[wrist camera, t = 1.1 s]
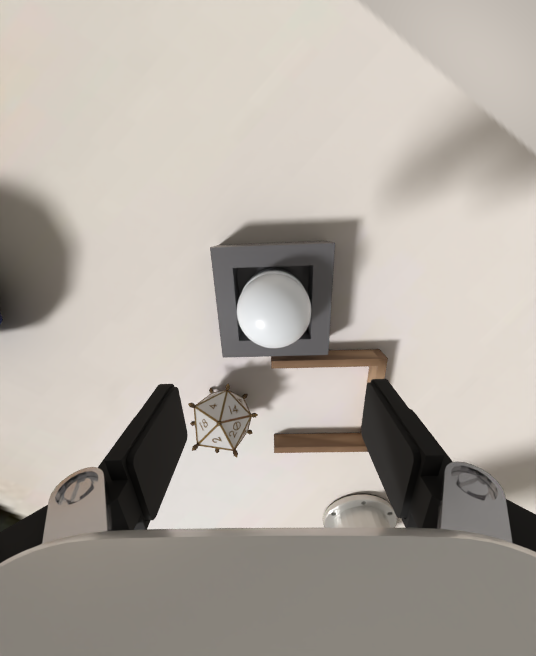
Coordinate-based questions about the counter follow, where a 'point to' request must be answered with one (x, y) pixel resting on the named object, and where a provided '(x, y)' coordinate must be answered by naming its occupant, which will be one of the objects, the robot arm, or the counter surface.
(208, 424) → the game die
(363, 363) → the walnut bay
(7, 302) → the counter surface
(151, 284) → the counter surface
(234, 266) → the dome base
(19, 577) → the robot arm
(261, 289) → the dome
